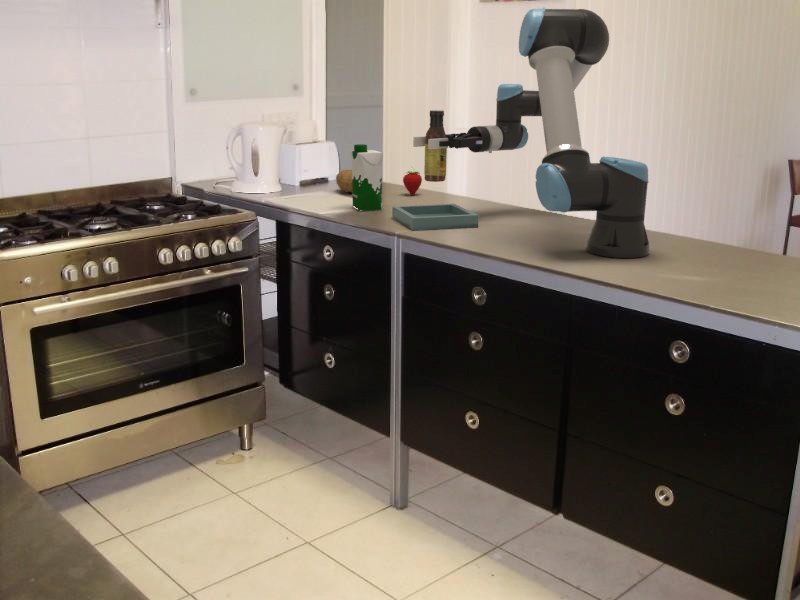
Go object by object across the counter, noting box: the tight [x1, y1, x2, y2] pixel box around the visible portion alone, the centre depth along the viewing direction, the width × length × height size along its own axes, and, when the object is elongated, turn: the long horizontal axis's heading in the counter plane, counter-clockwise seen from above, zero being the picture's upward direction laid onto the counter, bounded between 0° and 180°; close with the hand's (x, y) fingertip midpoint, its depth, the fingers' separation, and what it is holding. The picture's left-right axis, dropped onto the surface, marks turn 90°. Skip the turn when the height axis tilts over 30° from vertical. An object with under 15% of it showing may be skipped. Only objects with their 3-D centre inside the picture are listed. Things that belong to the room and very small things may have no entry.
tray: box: [391, 203, 479, 232], centre depth 252 cm, size 20×20×4 cm
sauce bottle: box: [423, 109, 448, 183], centre depth 247 cm, size 6×6×20 cm
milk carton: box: [350, 143, 384, 211], centre depth 271 cm, size 9×9×20 cm
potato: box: [336, 169, 352, 193], centre depth 304 cm, size 10×14×8 cm
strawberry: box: [402, 165, 423, 196], centre depth 299 cm, size 6×8×10 cm
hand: (421, 143), depth 244 cm, fingers closed on sauce bottle, 6 cm apart
